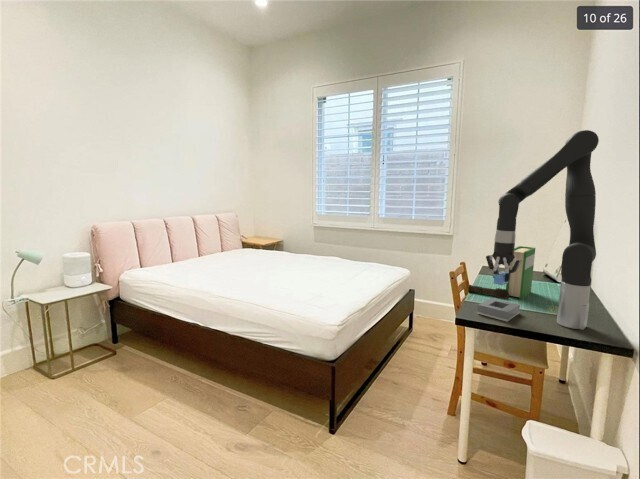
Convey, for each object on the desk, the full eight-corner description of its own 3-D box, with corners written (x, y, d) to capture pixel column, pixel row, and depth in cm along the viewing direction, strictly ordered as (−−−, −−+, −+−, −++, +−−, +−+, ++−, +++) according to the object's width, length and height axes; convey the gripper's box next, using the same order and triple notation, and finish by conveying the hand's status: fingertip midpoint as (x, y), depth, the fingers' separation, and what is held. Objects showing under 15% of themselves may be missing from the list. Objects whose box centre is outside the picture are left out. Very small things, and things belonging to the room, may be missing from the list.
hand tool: (467, 292, 175) (467, 284, 174) (469, 290, 178) (470, 282, 177) (507, 300, 162) (508, 291, 162) (509, 298, 165) (510, 289, 165)
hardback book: (521, 299, 163) (526, 251, 160) (505, 296, 168) (509, 249, 165) (530, 292, 176) (535, 247, 172) (515, 289, 181) (519, 246, 177)
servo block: (509, 282, 144) (510, 271, 143) (500, 286, 138) (501, 274, 137) (501, 280, 147) (502, 269, 146) (491, 284, 140) (492, 273, 140)
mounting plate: (518, 313, 144) (519, 304, 144) (507, 321, 135) (507, 312, 134) (490, 306, 153) (490, 298, 153) (477, 313, 144) (477, 304, 143)
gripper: (526, 242, 137) (522, 282, 139) (490, 238, 147) (487, 275, 150) (520, 244, 132) (516, 285, 134) (483, 239, 142) (480, 278, 145)
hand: (501, 280), depth 142 cm, fingers closed on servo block, 3 cm apart
